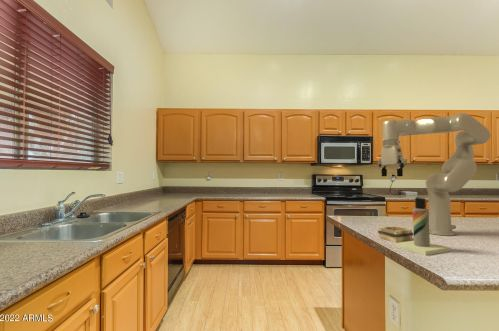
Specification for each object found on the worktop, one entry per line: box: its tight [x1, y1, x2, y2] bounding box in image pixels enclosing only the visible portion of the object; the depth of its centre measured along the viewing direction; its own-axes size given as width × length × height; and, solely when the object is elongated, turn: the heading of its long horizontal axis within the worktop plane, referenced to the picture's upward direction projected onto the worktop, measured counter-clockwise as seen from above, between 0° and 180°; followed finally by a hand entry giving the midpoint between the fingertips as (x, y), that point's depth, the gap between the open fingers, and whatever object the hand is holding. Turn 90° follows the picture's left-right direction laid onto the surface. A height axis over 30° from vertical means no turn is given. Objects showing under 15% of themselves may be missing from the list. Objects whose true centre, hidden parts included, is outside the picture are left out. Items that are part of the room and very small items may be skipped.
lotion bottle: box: [412, 196, 431, 247], centre depth 115 cm, size 6×6×20 cm
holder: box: [377, 226, 414, 243], centre depth 132 cm, size 11×11×5 cm
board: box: [394, 240, 451, 256], centre depth 114 cm, size 14×14×2 cm
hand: (391, 176), depth 143 cm, fingers open, 9 cm apart
